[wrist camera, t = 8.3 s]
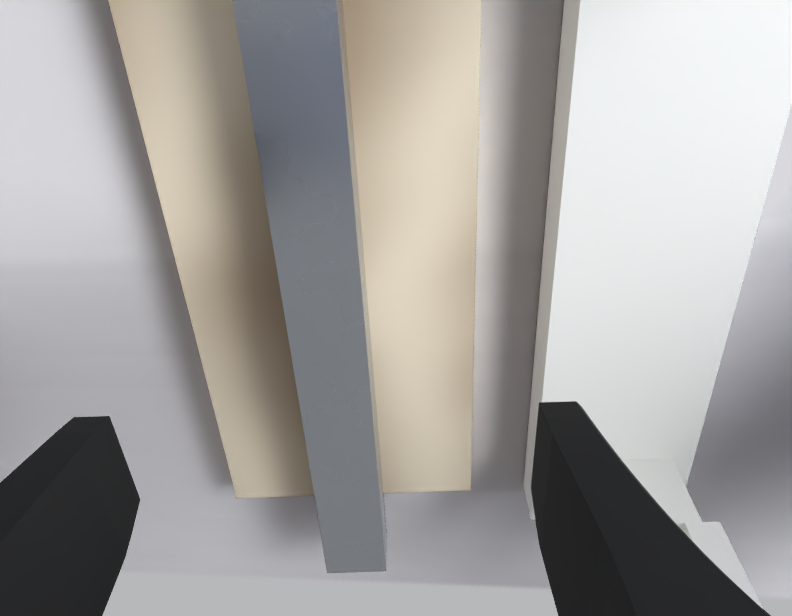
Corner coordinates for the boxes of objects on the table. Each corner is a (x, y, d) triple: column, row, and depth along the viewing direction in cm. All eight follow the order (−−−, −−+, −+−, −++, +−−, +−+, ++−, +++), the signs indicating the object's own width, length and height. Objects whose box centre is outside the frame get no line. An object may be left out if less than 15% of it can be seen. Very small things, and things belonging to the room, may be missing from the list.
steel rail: (306, -436, 11) (294, -478, 10) (386, 531, 24) (386, 571, 23) (183, -428, 11) (154, -468, 10) (330, 533, 24) (327, 572, 23)
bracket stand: (874, -372, 12) (1327, -594, 6) (663, 480, 24) (750, 678, 18) (593, -356, 12) (779, -558, 6) (523, 485, 24) (565, 683, 18)
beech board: (481, -276, 13) (488, -286, 12) (468, 468, 24) (470, 490, 23) (63, -252, 13) (41, -260, 12) (241, 476, 24) (236, 498, 23)
